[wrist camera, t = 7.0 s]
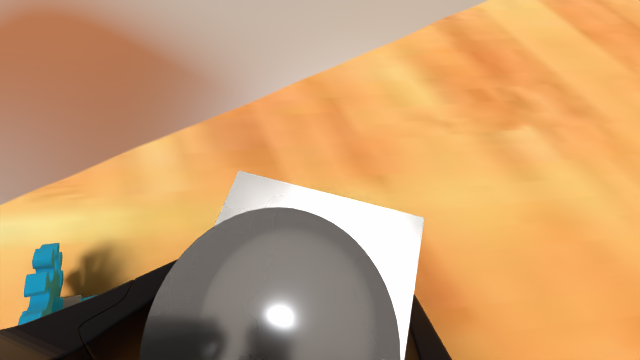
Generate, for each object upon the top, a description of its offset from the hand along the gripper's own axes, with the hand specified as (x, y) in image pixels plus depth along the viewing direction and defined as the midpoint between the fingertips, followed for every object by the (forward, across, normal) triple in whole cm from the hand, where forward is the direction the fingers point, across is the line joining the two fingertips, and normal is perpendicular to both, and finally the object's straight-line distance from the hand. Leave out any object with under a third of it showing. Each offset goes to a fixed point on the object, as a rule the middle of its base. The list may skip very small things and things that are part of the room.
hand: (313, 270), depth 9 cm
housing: (+5, 0, +6) cm, 8 cm away
